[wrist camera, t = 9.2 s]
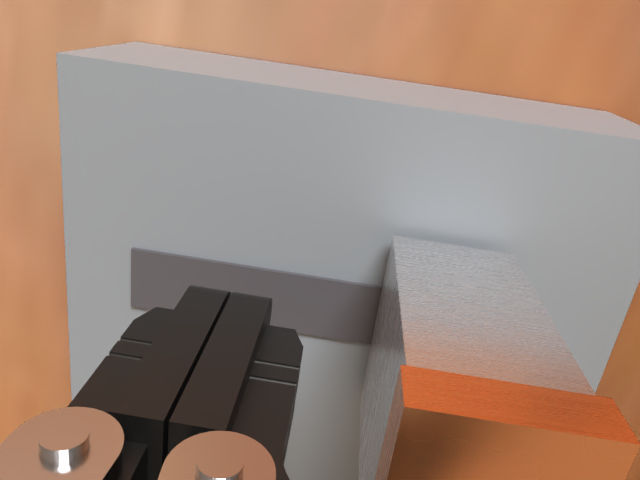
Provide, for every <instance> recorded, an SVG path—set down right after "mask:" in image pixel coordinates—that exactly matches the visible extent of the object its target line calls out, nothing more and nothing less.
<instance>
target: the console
mask: <svg viewBox="0 0 640 480" xmlns="http://www.w3.org/2000/svg"><path fill="white" fill-rule="evenodd" d="M56 55H57V78H58V100H59V123H60V145H61V168H62V190H63V213H64V236H65V258H66V281H67V303H68V326H69V348H70V371H71V394H72V400H73V399H74V398H75V396H76V395H77V394H78V392H79V391H80V390H81V388H82V387H83V386H84V384H85V383H86V382H87V381H88V379H89V378H90V377H91V375H92V374H93V373H94V371H95V370H96V369H97V367H98V366H99V365H100V363H101V362H102V361H103V359H104V358H105V357H106V356H109V352H110V350H111V349H112V348H113V346H114V345H115V344H116V342H117V341H120V338H121V336H122V334H123V333H124V332H125V331H126V329H127V328H128V327H129V325H130V324H131V323H132V321H133V320H134V319H136V318H137V317H139V316H141V315H143V314H144V313H146V312H148V311H150V310H152V309H153V308H155V307H161V308H167V309H173V310H174V309H175V307H176V305H177V304H178V302H179V301H180V299H181V298H182V296H183V295H184V293H185V292H186V290H187V289H188V287H189V286H190V285H194V286H200V287H206V288H212V289H219V290H225V291H230V292H231V293H232V292H238V293H244V294H250V295H256V296H262V297H268V298H272V312H271V320H270V325H272V326H278V327H284V328H290V329H295V330H296V332H297V334H298V337H299V339H300V341H301V343H302V345H303V347H304V348H303V354H302V361H301V368H300V374H299V381H298V388H297V394H296V401H295V407H294V414H293V420H292V425H291V430H290V436H289V441H288V446H287V452H286V456H285V462H284V468H285V471H286V473H287V475H288V477H289V479H290V480H359V441H360V398H361V393H362V388H363V383H364V378H365V373H366V367H367V362H368V357H369V352H370V347H371V342H372V337H373V332H374V327H375V322H376V317H377V312H378V307H379V302H380V297H381V292H382V287H383V282H384V277H385V272H386V267H387V262H388V257H389V252H390V247H391V242H392V237H393V235H394V236H400V237H407V238H413V239H420V240H426V241H433V242H439V243H446V244H452V245H459V246H465V247H472V248H478V249H484V250H491V251H497V252H504V253H510V254H513V255H514V256H515V258H516V260H517V261H518V263H519V265H520V267H521V268H522V270H523V272H524V273H525V275H526V277H527V278H528V280H529V282H530V284H531V285H532V287H533V289H534V290H535V292H536V294H537V295H538V297H539V299H540V301H541V302H542V304H543V306H544V307H545V309H546V311H547V312H548V314H549V316H550V318H551V319H552V321H553V323H554V324H555V326H556V328H557V329H558V331H559V333H560V335H561V336H562V338H563V340H564V341H565V343H566V345H567V347H568V348H569V350H570V352H571V353H572V355H573V357H574V358H575V360H576V362H577V364H578V365H579V367H580V369H581V370H582V372H583V374H584V375H585V377H586V379H587V381H588V382H589V384H590V386H591V387H592V389H593V391H594V392H596V390H597V387H598V385H599V382H600V379H601V377H602V374H603V372H604V369H605V367H606V364H607V362H608V359H609V357H610V354H611V352H612V349H613V347H614V344H615V341H616V339H617V336H618V334H619V331H620V329H621V326H622V324H623V321H624V319H625V316H626V314H627V311H628V309H629V306H630V303H631V301H632V298H633V296H634V293H635V291H636V288H637V286H638V283H639V281H640V125H638V124H636V123H633V122H631V121H629V120H626V119H624V118H622V117H619V116H617V115H615V114H612V113H610V112H608V111H601V110H594V109H588V108H581V107H574V106H567V105H561V104H554V103H547V102H540V101H534V100H527V99H520V98H513V97H507V96H500V95H493V94H486V93H480V92H473V91H466V90H459V89H453V88H446V87H439V86H432V85H426V84H419V83H412V82H405V81H399V80H392V79H385V78H378V77H372V76H365V75H358V74H351V73H345V72H338V71H331V70H324V69H318V68H311V67H304V66H297V65H291V64H284V63H277V62H270V61H264V60H257V59H250V58H243V57H237V56H230V55H223V54H216V53H210V52H203V51H196V50H189V49H183V48H176V47H169V46H162V45H156V44H149V43H142V42H131V43H123V44H116V45H109V46H102V47H95V48H87V49H80V50H73V51H66V52H59V53H56Z"/></svg>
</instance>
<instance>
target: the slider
mask: <svg viewBox="0 0 640 480" xmlns="http://www.w3.org/2000/svg"><path fill="white" fill-rule="evenodd" d="M639 448H640V443H639V441H638V439H637V438H636V436H635V435H634V433H633V431H632V430H631V428H630V427H629V425H628V423H627V422H626V420H625V419H624V417H623V415H622V414H621V412H620V411H619V409H618V407H617V406H616V404H615V402H614V401H613V399H612V398H607V397H600V396H596V394H595V392H594V391H593V389H592V387H591V386H590V384H589V382H588V381H587V379H586V377H585V375H584V374H583V372H582V370H581V369H580V367H579V365H578V364H577V362H576V360H575V358H574V357H573V355H572V353H571V352H570V350H569V348H568V347H567V345H566V343H565V341H564V340H563V338H562V336H561V335H560V333H559V331H558V329H557V328H556V326H555V324H554V323H553V321H552V319H551V318H550V316H549V314H548V312H547V311H546V309H545V307H544V306H543V304H542V302H541V301H540V299H539V297H538V295H537V294H536V292H535V290H534V289H533V287H532V285H531V284H530V282H529V280H528V278H527V277H526V275H525V273H524V272H523V270H522V268H521V267H520V265H519V263H518V261H517V260H516V258H515V256H514V255H513V254H510V253H504V252H497V251H491V250H484V249H478V248H472V247H465V246H459V245H452V244H446V243H439V242H433V241H426V240H420V239H413V238H407V237H400V236H394V235H393V237H392V242H391V247H390V252H389V257H388V262H387V267H386V272H385V277H384V282H383V287H382V292H381V297H380V302H379V307H378V312H377V317H376V322H375V327H374V332H373V337H372V342H371V347H370V352H369V357H368V362H367V367H366V373H365V378H364V383H363V388H362V393H361V398H360V441H359V480H625V479H626V477H627V475H628V473H629V470H630V468H631V466H632V464H633V462H634V459H635V457H636V455H637V453H638V451H639Z"/></svg>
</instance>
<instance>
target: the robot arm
mask: <svg viewBox="0 0 640 480" xmlns="http://www.w3.org/2000/svg"><path fill="white" fill-rule="evenodd" d="M271 312H272V298H268V297H262V296H256V295H250V294H244V293H238V292H232V293H231V292H230V291H225V290H219V289H212V288H206V287H200V286H194V285H190V286H189V287H188V289H187V290H186V292H185V293H184V295H183V296H182V298H181V299H180V301H179V302H178V304H177V305H176V307H175V309H174V310H173V309H167V308H161V307H155V308H153V309H152V310H150V311H148V312H146V313H144V314H143V315H141V316H139V317H137V318H136V319H134V320H133V321H132V323H131V324H130V325H129V327H128V328H127V329H126V331H125V332H124V333H123V334H122V336H121V338H120V341H117V342H116V344H115V345H114V346H113V348H112V349H111V350H110V352H109V356H106V357H105V358H104V359H103V361H102V362H101V363H100V365H99V366H98V367H97V369H96V370H95V371H94V373H93V374H92V375H91V377H90V378H89V379H88V381H87V382H86V383H85V384H84V386H83V387H82V388H81V390H80V391H79V392H78V394H77V395H76V396H75V398H74V399H73V400H72V402H71V403H70V404H69V406H68V407H65V408H59V409H55V410H51V411H47V412H45V413H42V414H39V415H37V416H35V417H33V418H31V419H29V420H27V421H26V422H24V423H23V424H22V425H20V426H19V427H18V428H17V429H15V430H14V431H13V432H12V433H11V434H10V435H9V436H8V437H7V438H6V439H5V440H4V441H3V443H2V444H1V445H0V480H290V479H289V477H288V475H287V473H286V471H285V468H284V462H285V456H286V452H287V446H288V441H289V436H290V430H291V425H292V420H293V414H294V407H295V401H296V394H297V388H298V381H299V374H300V368H301V361H302V354H303V348H304V347H303V345H302V343H301V341H300V339H299V337H298V334H297V332H296V330H295V329H290V328H284V327H278V326H272V325H270V320H271Z"/></svg>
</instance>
